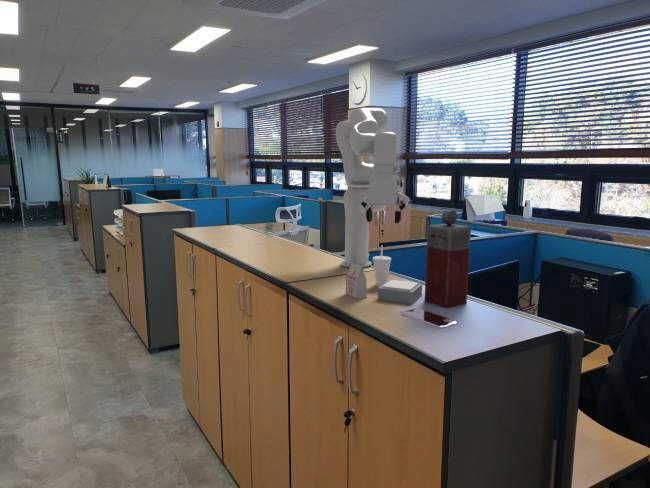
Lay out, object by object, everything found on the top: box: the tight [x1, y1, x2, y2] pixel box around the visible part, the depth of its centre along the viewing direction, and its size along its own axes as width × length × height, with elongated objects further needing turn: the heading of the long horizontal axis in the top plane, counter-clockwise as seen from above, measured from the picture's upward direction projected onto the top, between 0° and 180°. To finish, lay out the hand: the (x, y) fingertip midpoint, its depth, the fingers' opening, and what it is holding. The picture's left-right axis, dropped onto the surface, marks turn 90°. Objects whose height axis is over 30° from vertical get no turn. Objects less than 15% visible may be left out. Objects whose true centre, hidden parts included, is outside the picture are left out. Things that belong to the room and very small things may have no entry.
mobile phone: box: [399, 307, 459, 329], centre depth 128 cm, size 8×1×15 cm
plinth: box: [377, 279, 423, 305], centre depth 149 cm, size 11×11×4 cm
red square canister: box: [424, 209, 472, 309], centre depth 142 cm, size 9×11×28 cm
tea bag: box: [345, 263, 368, 300], centre depth 149 cm, size 4×7×10 cm, turn 25°
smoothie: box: [372, 244, 392, 288], centre depth 162 cm, size 6×6×14 cm
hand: (383, 222), depth 159 cm, fingers open, 9 cm apart
